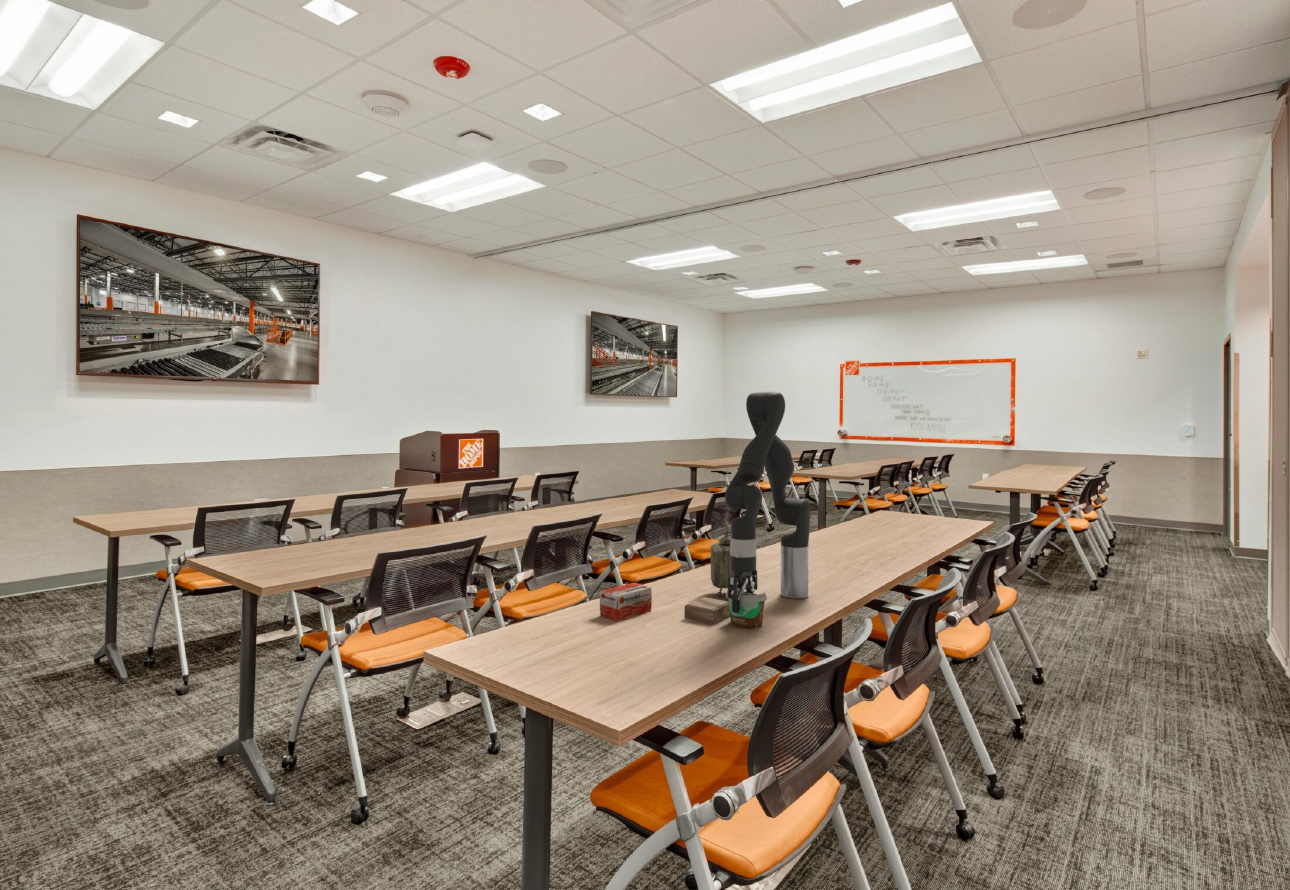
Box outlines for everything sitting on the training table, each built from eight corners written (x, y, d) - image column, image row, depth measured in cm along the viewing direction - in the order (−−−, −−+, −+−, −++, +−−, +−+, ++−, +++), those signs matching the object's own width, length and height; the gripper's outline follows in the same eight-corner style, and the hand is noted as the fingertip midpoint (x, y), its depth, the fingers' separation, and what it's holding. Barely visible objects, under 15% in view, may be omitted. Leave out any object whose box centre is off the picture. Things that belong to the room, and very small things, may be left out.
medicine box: (617, 622, 195) (617, 595, 194) (599, 616, 200) (599, 590, 200) (652, 611, 205) (652, 586, 205) (634, 606, 211) (634, 582, 211)
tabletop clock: (741, 601, 215) (741, 526, 214) (714, 602, 215) (714, 526, 214) (736, 590, 230) (736, 520, 229) (710, 590, 230) (710, 520, 229)
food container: (719, 626, 190) (719, 592, 189) (727, 620, 195) (727, 587, 195) (760, 632, 184) (760, 597, 184) (767, 626, 189) (767, 592, 189)
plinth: (703, 609, 206) (703, 596, 206) (731, 615, 200) (731, 601, 200) (684, 618, 197) (684, 604, 197) (713, 624, 191) (713, 610, 191)
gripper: (742, 548, 197) (742, 601, 197) (719, 556, 185) (719, 612, 186) (765, 551, 192) (765, 605, 193) (743, 559, 181) (743, 617, 181)
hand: (742, 609), depth 189 cm, fingers open, 8 cm apart
